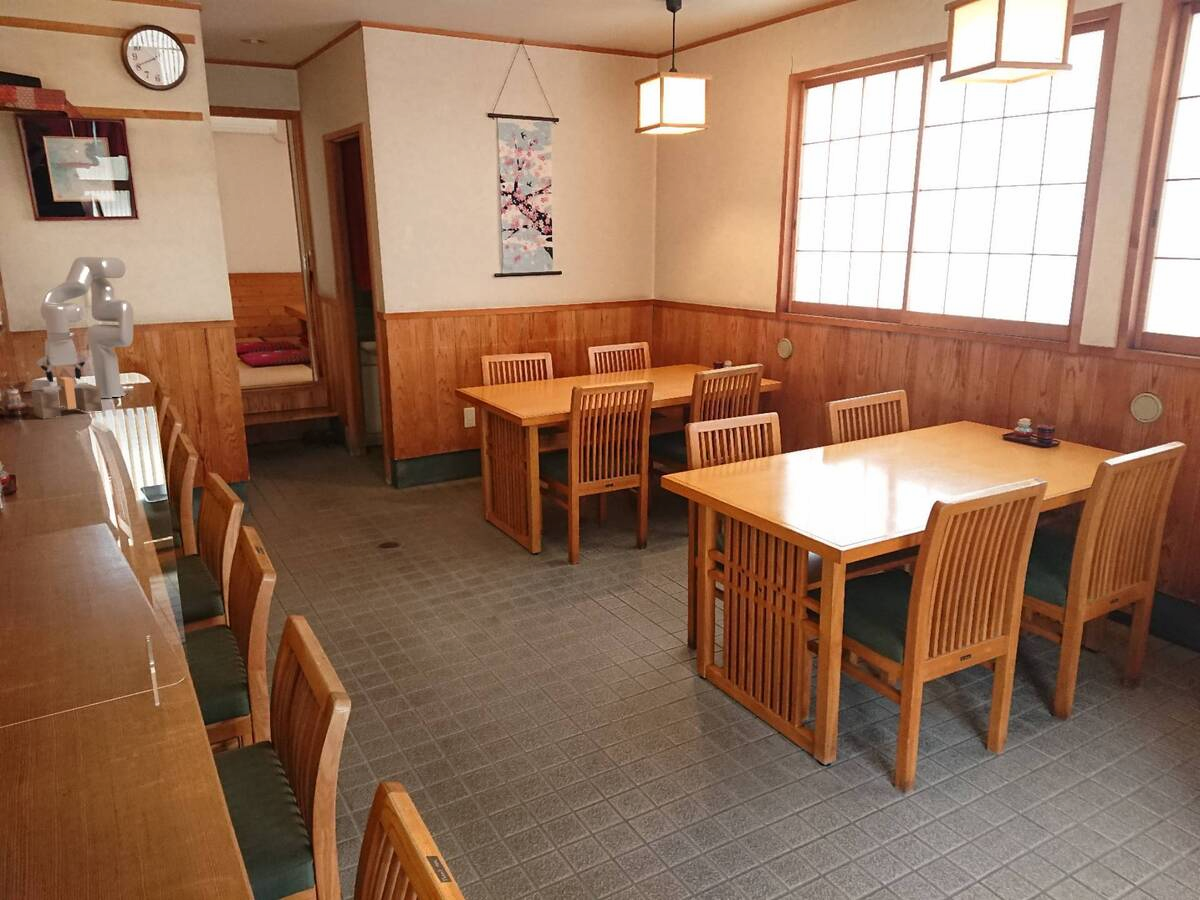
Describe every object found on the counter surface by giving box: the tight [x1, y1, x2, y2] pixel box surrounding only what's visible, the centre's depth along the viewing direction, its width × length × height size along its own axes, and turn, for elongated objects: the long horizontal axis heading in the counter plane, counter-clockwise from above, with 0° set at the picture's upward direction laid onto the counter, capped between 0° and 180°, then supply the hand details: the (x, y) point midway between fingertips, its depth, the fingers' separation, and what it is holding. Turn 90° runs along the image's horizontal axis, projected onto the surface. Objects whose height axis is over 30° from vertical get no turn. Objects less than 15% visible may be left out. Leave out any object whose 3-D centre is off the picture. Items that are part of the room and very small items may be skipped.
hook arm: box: [42, 382, 90, 392], centre depth 332 cm, size 16×2×2 cm, turn 140°
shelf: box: [30, 383, 103, 420], centre depth 333 cm, size 21×10×10 cm, turn 140°
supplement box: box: [32, 376, 61, 407], centre depth 340 cm, size 7×7×13 cm
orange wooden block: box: [55, 375, 76, 410], centre depth 332 cm, size 3×8×12 cm, turn 51°
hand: (64, 380), depth 331 cm, fingers open, 9 cm apart
